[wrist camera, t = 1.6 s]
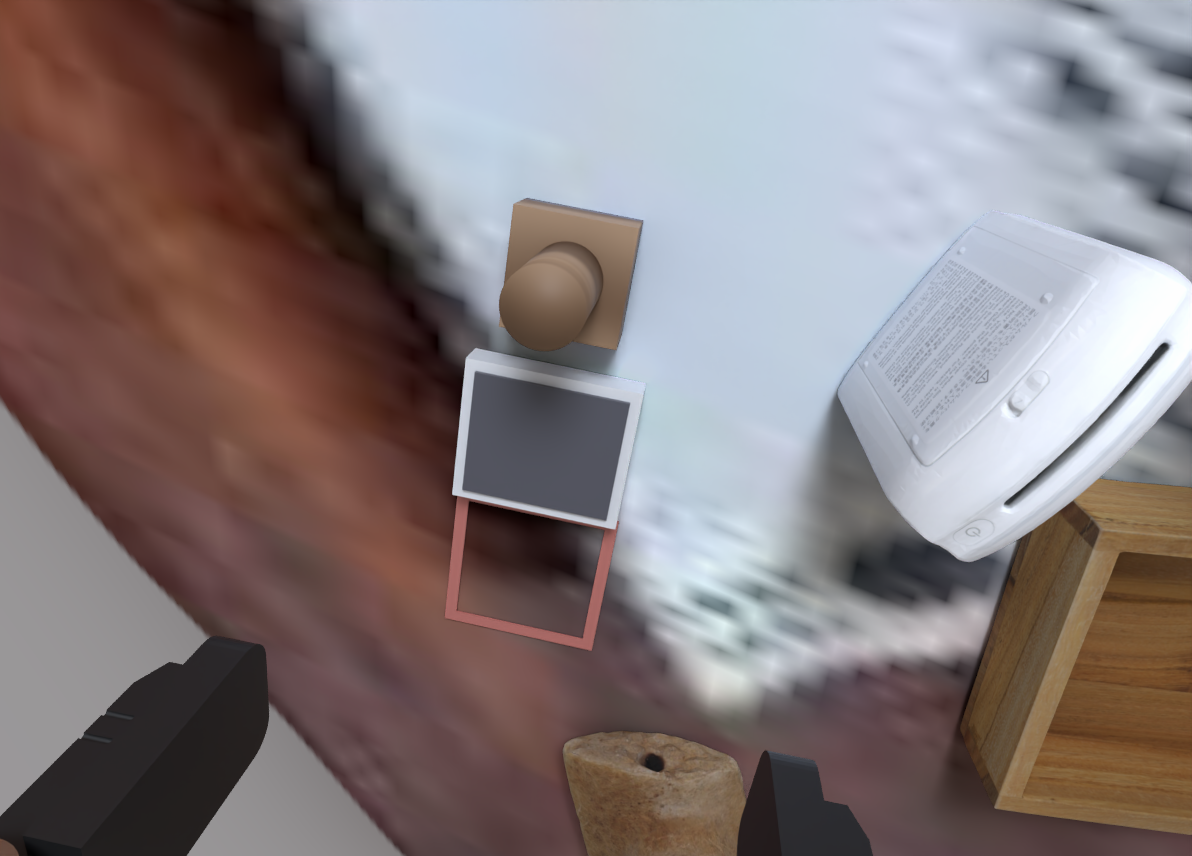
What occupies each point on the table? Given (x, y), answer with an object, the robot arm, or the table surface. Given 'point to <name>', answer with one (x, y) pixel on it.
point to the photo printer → (1016, 378)
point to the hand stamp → (567, 275)
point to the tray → (1093, 665)
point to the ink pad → (545, 437)
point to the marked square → (513, 627)
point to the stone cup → (654, 795)
